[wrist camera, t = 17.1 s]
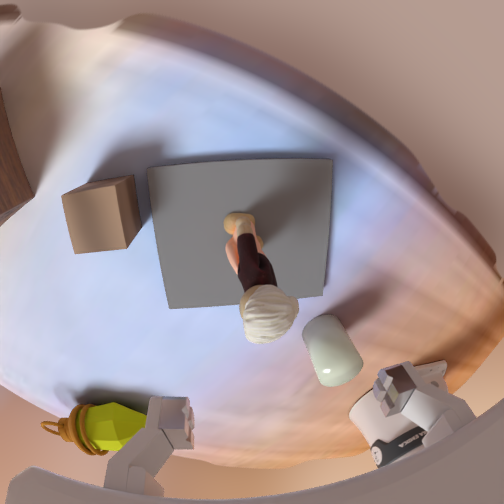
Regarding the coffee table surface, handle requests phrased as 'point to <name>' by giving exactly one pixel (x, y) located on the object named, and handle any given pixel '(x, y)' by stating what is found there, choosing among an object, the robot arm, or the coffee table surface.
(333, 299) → the coffee table surface
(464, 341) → the coffee table surface
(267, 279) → the grandmother figurine
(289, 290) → the slate mat
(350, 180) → the coffee table surface
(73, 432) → the plumb bob
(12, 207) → the tissue box cover
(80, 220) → the walnut block
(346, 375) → the sage green capsule
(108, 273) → the coffee table surface
